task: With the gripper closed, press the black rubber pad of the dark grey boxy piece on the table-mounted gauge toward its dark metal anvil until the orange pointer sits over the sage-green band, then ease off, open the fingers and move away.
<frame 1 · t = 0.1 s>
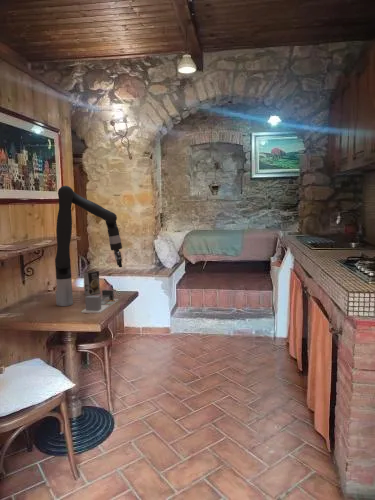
hand: (119, 266, 249), 22 cm above the table, tool pointing down, fingers open, 8 cm apart
coffee box: (92, 294, 269), on the table
gauge base: (102, 305, 236), on the table
dark grey boxy piece: (106, 296, 239), point 4 cm above the table, slide at 0.0 cm
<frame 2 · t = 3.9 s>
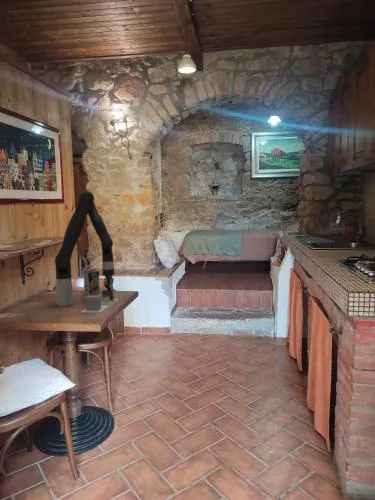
hand: (109, 293, 248), 4 cm above the table, tool pointing down, fingers closed
dark grey boxy piece: (106, 297, 239), point 4 cm above the table, slide at 0.3 cm, touching gripper
everything else where it was.
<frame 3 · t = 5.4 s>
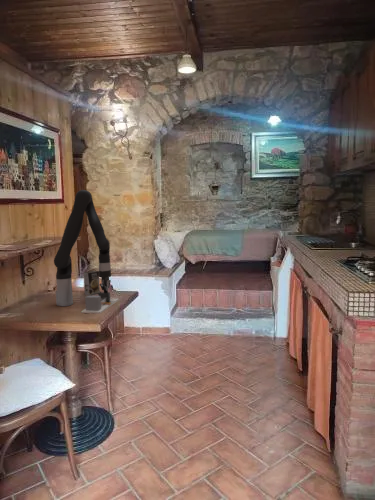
hand: (106, 295, 242), 4 cm above the table, tool pointing down, fingers closed
dark grey boxy piece: (102, 299, 233), point 4 cm above the table, slide at 6.2 cm, touching gripper
everything else where it was.
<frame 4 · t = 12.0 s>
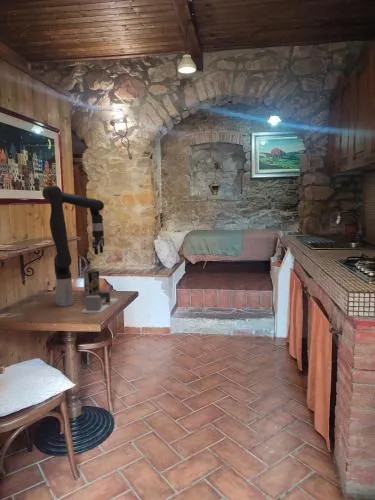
hand: (99, 253, 255), 30 cm above the table, tool pointing down, fingers open, 8 cm apart
dark grey boxy piece: (102, 299, 233), point 4 cm above the table, slide at 6.2 cm
everything else where it was.
at the end: dark grey boxy piece slide at 6.2 cm; coffee box moved 0.2 cm from its start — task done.
